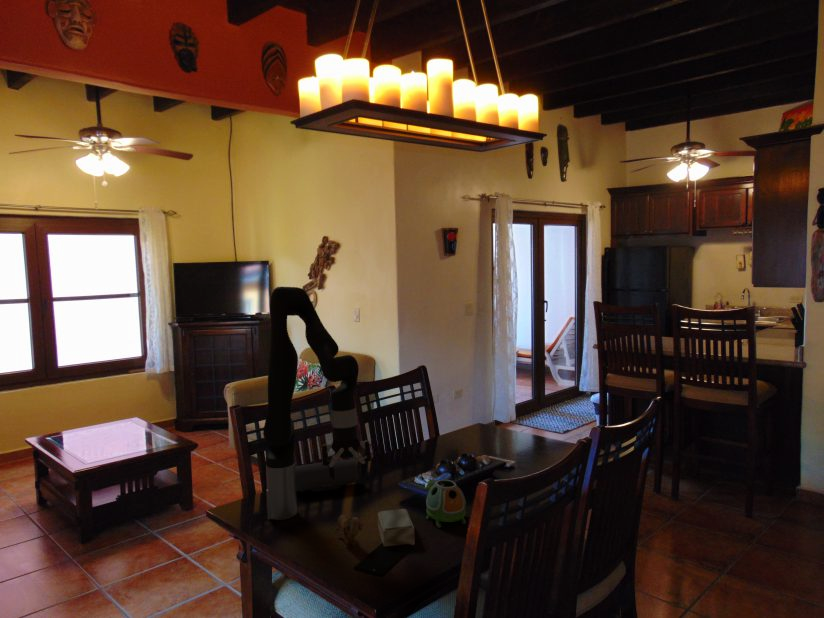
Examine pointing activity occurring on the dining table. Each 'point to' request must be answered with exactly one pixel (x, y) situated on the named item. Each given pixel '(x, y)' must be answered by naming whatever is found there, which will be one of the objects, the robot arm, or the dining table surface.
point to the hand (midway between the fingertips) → (348, 476)
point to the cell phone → (382, 559)
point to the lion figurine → (349, 528)
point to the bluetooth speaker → (325, 476)
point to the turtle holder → (445, 502)
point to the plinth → (395, 527)
